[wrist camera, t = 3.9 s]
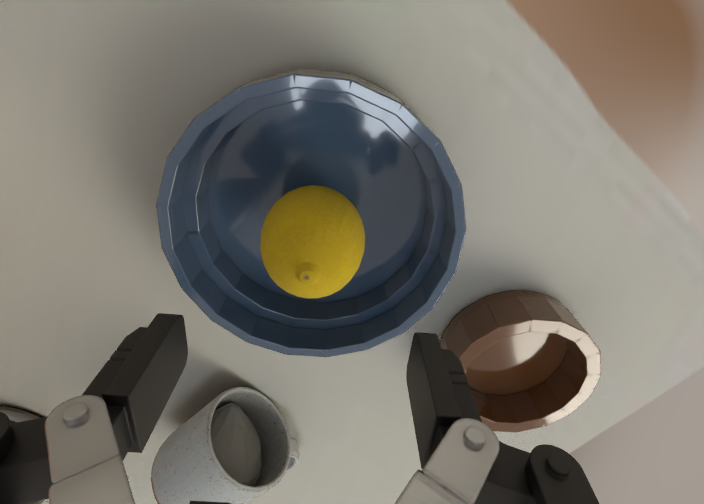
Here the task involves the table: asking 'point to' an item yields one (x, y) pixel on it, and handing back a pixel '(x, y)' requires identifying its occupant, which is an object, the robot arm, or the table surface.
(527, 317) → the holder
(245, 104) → the bowl
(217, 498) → the ceramic mug
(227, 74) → the table surface
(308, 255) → the lemon
